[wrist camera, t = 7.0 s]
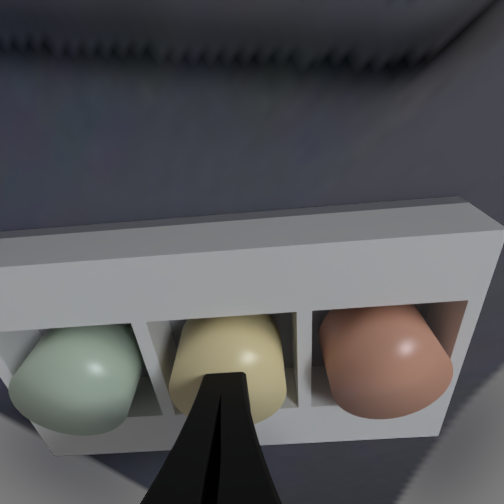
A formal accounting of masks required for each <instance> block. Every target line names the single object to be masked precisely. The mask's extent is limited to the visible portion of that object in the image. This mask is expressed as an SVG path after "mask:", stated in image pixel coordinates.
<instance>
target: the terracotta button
mask: <svg viewBox="0 0 504 504" xmlns="http://www.w3.org/2000/svg"><path fill="white" fill-rule="evenodd" d="M319 343H320V347H321V351H322V355H323V359H324V363H325V368H326V372H327V376H328V380H329V384H330V388H331V392H332V396H333V398H334V400H335V402H336V403H337V405H338V406H340V407H341V408H342V409H343V410H345V411H346V412H348V413H350V414H352V415H355V416H358V417H362V418H367V419H392V418H398V417H402V416H406V415H409V414H412V413H415V412H417V411H420V410H422V409H424V408H425V407H427V406H429V405H430V404H432V403H433V402H435V401H436V400H437V399H438V398H439V397H440V396H441V395H443V393H444V392H445V391H446V390H447V388H448V386H449V385H450V383H451V380H452V377H453V365H452V362H451V360H450V358H449V356H448V355H447V353H446V352H445V350H444V349H443V347H442V346H441V344H440V343H439V341H438V340H437V338H436V337H435V335H434V334H433V332H432V331H431V329H430V327H429V326H428V324H427V323H426V321H425V320H424V318H423V317H422V315H421V314H420V312H419V311H418V309H417V308H416V306H415V305H414V304H406V305H391V306H376V307H361V308H346V309H332V310H331V311H330V312H329V313H328V314H327V315H326V316H325V318H324V320H323V321H322V323H321V326H320V329H319Z"/></svg>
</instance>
